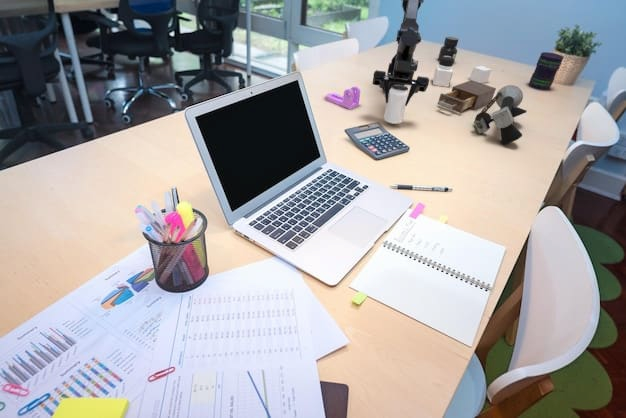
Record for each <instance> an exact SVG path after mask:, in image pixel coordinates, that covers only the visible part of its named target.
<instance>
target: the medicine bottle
mask: <svg viewBox="0 0 626 418" xmlns="http://www.w3.org/2000/svg"><path fill="white" fill-rule="evenodd" d="M453 62H454V63H455V61H454V59H453V58H452V57H449V56H443V57H441V58H440V61H439V62H438V64H436V65H435V69H434V73H433V76H432V85H433V86H439V87H444V88H445V87H446V88H449V87H450V84H451V80H452V78H453V73H454V70H453V66H454V63H453Z"/></svg>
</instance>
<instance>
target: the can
mask: <svg viewBox="0 0 626 418" xmlns="http://www.w3.org/2000/svg"><path fill="white" fill-rule="evenodd" d="M408 94H409V87H408V86H407V85H404V86H403V85H392V86H391V89H390V91H389V93H388V102H387V103H386V105H385V110H384V115H383V120H384V121H385V122H386V123H388V124H391V125H399V124H401V123H402V122H403V118H404V114H405V109H406V106H405V105H406V101H407V97H408Z"/></svg>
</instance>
